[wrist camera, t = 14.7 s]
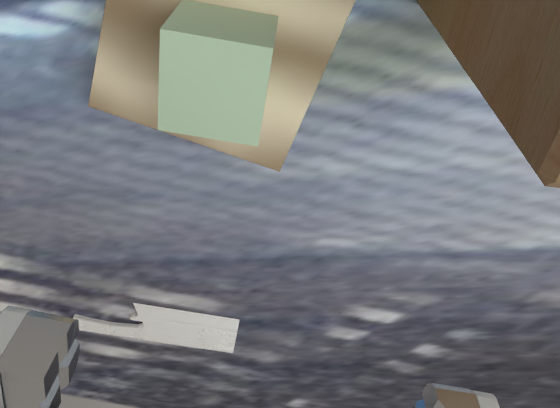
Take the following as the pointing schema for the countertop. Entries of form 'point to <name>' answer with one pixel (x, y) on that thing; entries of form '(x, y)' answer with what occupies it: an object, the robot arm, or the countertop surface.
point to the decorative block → (511, 67)
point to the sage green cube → (215, 71)
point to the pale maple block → (282, 80)
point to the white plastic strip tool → (170, 328)
